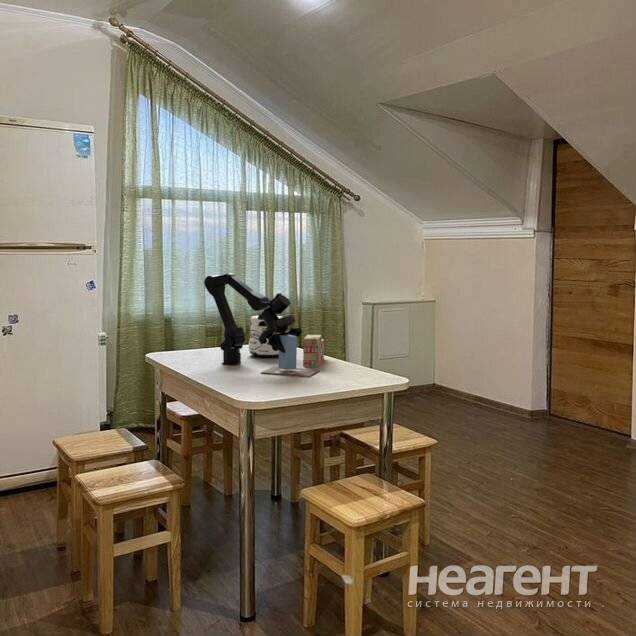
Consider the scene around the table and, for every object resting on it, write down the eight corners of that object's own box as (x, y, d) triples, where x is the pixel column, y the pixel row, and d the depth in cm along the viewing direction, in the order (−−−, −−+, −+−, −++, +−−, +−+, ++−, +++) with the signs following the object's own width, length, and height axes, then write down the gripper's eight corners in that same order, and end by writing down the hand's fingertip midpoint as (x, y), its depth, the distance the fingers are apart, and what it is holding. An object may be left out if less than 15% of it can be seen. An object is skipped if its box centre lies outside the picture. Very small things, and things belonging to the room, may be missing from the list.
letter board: (260, 373, 255) (260, 372, 255) (273, 367, 268) (273, 366, 268) (309, 377, 249) (309, 375, 249) (319, 371, 262) (320, 369, 262)
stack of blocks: (310, 358, 293) (310, 331, 292) (324, 359, 292) (324, 332, 291) (302, 367, 272) (303, 337, 271) (317, 367, 271) (318, 338, 270)
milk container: (243, 357, 292) (243, 318, 291) (255, 352, 309) (255, 314, 307) (279, 359, 288) (280, 319, 287) (290, 354, 305) (291, 316, 303)
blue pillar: (278, 368, 258) (279, 335, 256) (288, 366, 261) (289, 334, 260) (286, 369, 254) (287, 337, 253) (296, 368, 257) (297, 336, 256)
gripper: (263, 309, 252) (281, 341, 245) (299, 307, 264) (317, 337, 258) (250, 327, 258) (267, 359, 251) (286, 324, 271) (303, 354, 264)
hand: (289, 352), depth 256 cm, fingers closed on blue pillar, 5 cm apart
